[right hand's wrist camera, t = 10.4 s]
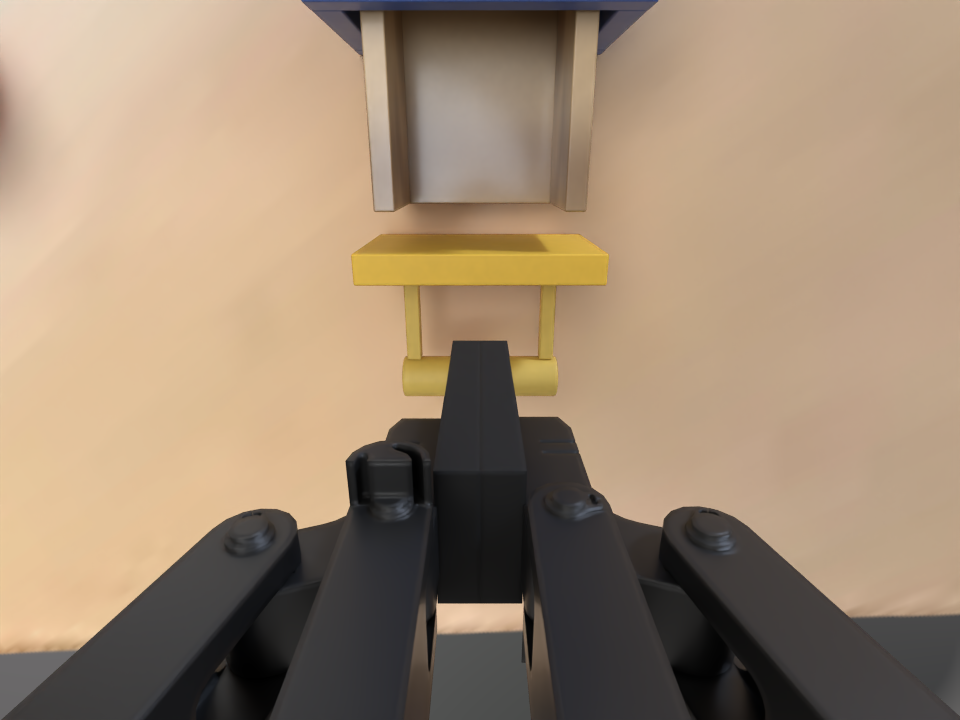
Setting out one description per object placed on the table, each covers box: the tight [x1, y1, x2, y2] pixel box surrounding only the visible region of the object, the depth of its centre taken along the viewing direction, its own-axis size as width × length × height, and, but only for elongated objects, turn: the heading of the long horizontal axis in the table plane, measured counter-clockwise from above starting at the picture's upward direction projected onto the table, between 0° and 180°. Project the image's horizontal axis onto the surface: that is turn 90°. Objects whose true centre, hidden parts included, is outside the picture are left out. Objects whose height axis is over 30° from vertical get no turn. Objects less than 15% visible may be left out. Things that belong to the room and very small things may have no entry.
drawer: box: [351, 10, 609, 396], centre depth 20 cm, size 25×10×6 cm, turn 0°
